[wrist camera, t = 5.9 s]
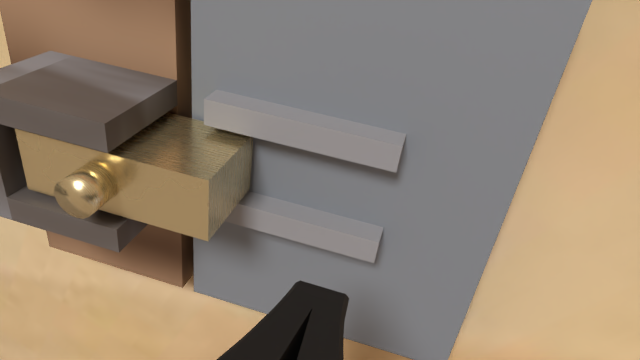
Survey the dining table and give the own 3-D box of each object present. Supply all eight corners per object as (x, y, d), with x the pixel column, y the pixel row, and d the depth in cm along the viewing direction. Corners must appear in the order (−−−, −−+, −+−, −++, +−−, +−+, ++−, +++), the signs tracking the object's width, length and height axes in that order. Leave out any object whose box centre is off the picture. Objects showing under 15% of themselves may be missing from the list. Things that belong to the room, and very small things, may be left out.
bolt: (250, 188, 19) (190, 263, 15) (93, 146, 21) (0, 206, 17) (253, 133, 18) (189, 200, 14) (86, 92, 19) (-16, 143, 15)
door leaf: (446, 335, 23) (442, 387, 21) (212, 265, 25) (183, 305, 23) (584, -25, 15) (606, -10, 12) (218, -87, 17) (173, -85, 14)
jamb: (202, 262, 25) (130, 355, 20) (76, 224, 27) (-21, 303, 21) (202, -90, 17) (80, -84, 12) (18, -121, 18) (-165, -128, 13)
